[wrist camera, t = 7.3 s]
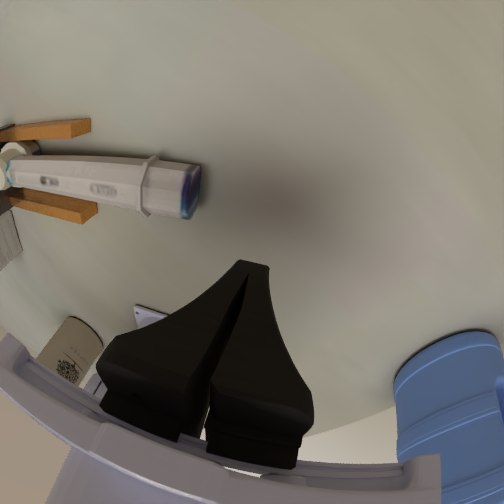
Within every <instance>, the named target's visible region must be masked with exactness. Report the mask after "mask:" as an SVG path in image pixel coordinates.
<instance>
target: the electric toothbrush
mask: <svg viewBox="0 0 504 504" xmlns="http://www.w3.org/2000/svg"><path fill="white" fill-rule="evenodd" d="M200 179H201V169H200V166H199V165H192V164H184V163H177V162H169V161H160V159H159V157H158V155H153V156H151V157H150V158H149V159H139V158H124V157H106V156H73V155H43V156H42V153H41V150H40V148H39V146H38V144H36V143H34V142H33V141H31V140H19V141H11V142H9V143H7V144H6V145H5V146H4V147H3V148H2V149H1V153H0V190H6V189H8V188H9V187H11V186H13V187H20V188H22V187H24V188H30V189H35V190H40V191H45V192H50V193H55V194H60V195H65V196H70V197H74V198H79V199H84V200H89V201H94V202H98V203H103V204H108V205H113V206H117V207H122V208H127V209H131V210H136V211H138V212H139V213H140V214H141V215H142V216H143V217H147V218H148V217H149V215H150V214H157V215H163V216H169V217H175V218H181V219H187V220H191V218H192V216H193V214H194V212H195V210H196V206H197V202H198V198H199V188H200Z"/></svg>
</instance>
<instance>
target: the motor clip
mask: <svg viewBox="0 0 504 504" xmlns="http://www.w3.org/2000/svg"><path fill="white" fill-rule="evenodd" d="M87 132H90V119H73V120H60V121H50V122H40V123H32V124H25V125H18V126H15V124H10V125H5V126H2V127H0V153H1V149H2V148H3V147H4V146H5V145H6V144H7V143H9V142H11V141H19V140H35V139H70V138H74V137H76V136H79V135H82V134H85V133H87ZM13 206H15V207H19V208H22V209H26V210H30V211H33V212H37V213H41V214H44V215H48V216H52V217H55V218H59V219H63V220H67V221H70V222H74V223H78V224H84V223H85V222H86V221H87V220H89V219H90V218H91V217H93V216H94V215H95V214H97V213H98V211H97V204H96V202H94V201H89V200H84V199H79V198H74V197H69V196H64V195H58V194H53V193H48V192H42V191H37V190H31V189H25V188H23V187H22V188H20V187H13V186H11V187H9V188H8V189H6V190H0V216H1V215H2V214H3V213H5V212H6V211H8V210H9V209H11V208H12V207H13Z"/></svg>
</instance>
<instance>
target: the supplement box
mask: <svg viewBox="0 0 504 504" xmlns="http://www.w3.org/2000/svg"><path fill="white" fill-rule="evenodd" d="M21 251H22V248H21V245H20V242H19V238H18V235H17V232H16V228H15V225H14V221H13V217H12V213H11V211H10V210H8V211H6V212H5V213H3V214H2V215H1V216H0V271H1V270H2V269H3V268H4V267H5V266H6V265H7V264H8V263H9V262H10V261H11V260H12V259H13V258H14V257H15V256H17V255H18V254H19V253H20V252H21Z"/></svg>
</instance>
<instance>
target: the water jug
mask: <svg viewBox="0 0 504 504" xmlns="http://www.w3.org/2000/svg"><path fill="white" fill-rule="evenodd" d="M393 390H394V400H395V403H396V414H397V433H398V439H397V460H398V463H403V462H405V461H406V460H408V459H410V458H413V457H416V456H421V455H430V454H437V453H439V454H440V460H441V504H504V359H503V353H502V350H501V347H500V345H499V342H498V341H497V339H496V338H495V337H494V336H493V335H491V334H489V333H486V332H480V331H473V332H465V333H461V334H457V335H454V336H451V337H448V338H446V339H443V340H441V341H439V342H437V343H435V344H433V345H431V346H429V347H428V348H426V349H424V350H423V351H421V352H420V353H418V354H417V355H416V356H414V357H413V358H412V359H411V360H410V361H409V362H407V363H406V364H405V366H404V367H403V368H402V369H401V370H400V372H399V373H398V375H397V377H396V379H395V382H394V387H393Z"/></svg>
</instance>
